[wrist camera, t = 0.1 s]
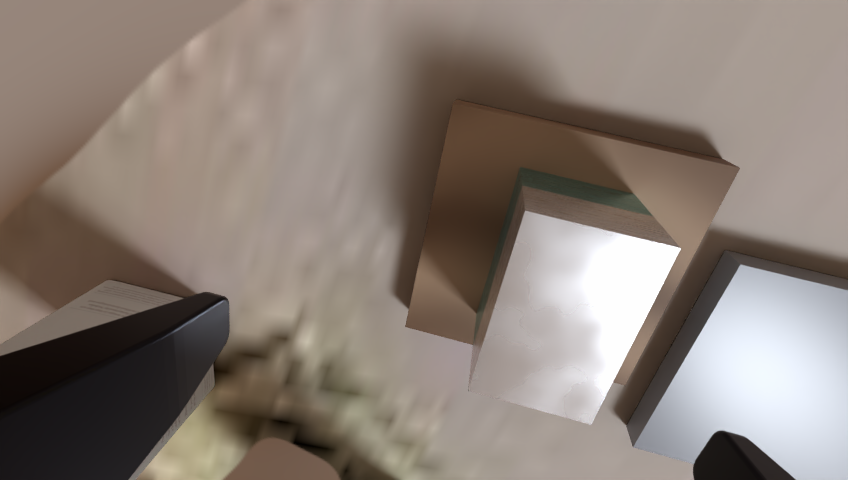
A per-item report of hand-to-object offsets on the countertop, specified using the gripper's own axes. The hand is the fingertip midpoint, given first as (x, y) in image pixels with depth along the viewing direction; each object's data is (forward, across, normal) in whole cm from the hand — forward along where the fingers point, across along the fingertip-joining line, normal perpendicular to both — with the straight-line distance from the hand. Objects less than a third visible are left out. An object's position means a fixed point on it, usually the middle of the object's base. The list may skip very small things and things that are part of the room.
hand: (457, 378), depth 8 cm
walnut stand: (+14, -4, +3) cm, 15 cm away
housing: (+13, -4, +3) cm, 14 cm away
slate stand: (+14, -18, +7) cm, 24 cm away
